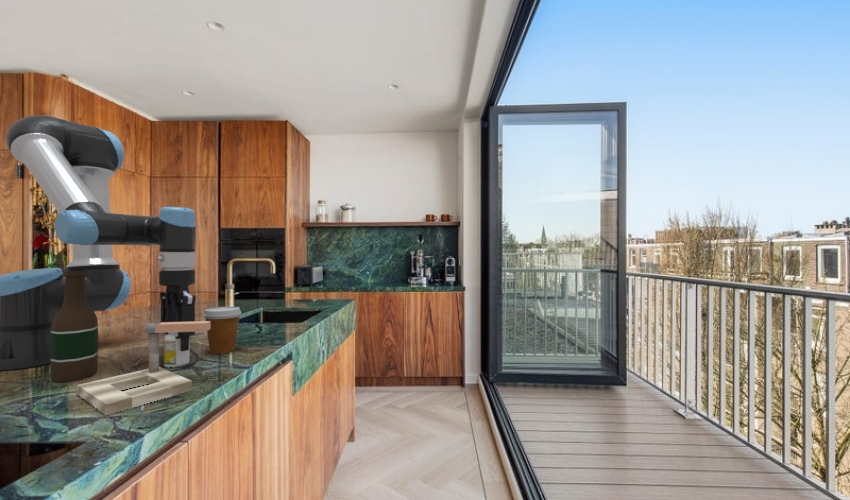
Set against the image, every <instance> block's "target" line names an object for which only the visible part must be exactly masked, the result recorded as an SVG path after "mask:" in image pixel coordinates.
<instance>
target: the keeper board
mask: <svg viewBox="0 0 850 500" xmlns="http://www.w3.org/2000/svg"><path fill="white" fill-rule="evenodd" d="M146 384H149V385H146ZM142 385H144V386H142ZM137 386H140V387H137ZM133 387H136V388H133ZM129 388H132V389H129ZM125 389H128V390H125ZM121 390H125V391H121ZM192 391H193V380H191V379H189V378H187V377H185V376H182V375H179V374H177V373H175V372H172V371H171V370H170V371H169V370H167V369H165V368H162V367H160V333H148V368H145V369H142V370H138V371H134V372H133V371H132V372H129V373H124V374H119V375H116V376H111V377H106V378H102V379H97V380H94V381H89V382H85V383H81V384H76V395H77V394H78V395H79V396H80V397H82V398H83V399H85V400H86V401H88V402H89V403H90V404H92V405H93V406H94V407H95V409H96V408H97V409H98V410H97V409H96V410H97V411H99V412H100V413H101V414H103V415H104V416H105V417H107V415H108V416H111V415H114V414H118V413H120V411H121V412H123V411H124V412H125V411H128V410H131V409H134V407H135V408H137V407H140V406H145V405H147V403H148V404H151V403H150V402H152V403H155V402H157V400H158V401H161V399H162V400H165V399H168V398H171V397H172V398H173V397H174V396H178V395H181V394H186V393H189V392H192ZM78 395H77V396H78ZM79 396H78V397H79ZM80 397H79V398H80ZM82 398H81V399H82ZM164 398H165V399H164ZM83 399H82V400H83ZM85 400H84V401H85ZM86 401H85V402H86ZM154 401H155V402H154ZM89 403H88V404H89ZM90 404H89V405H90ZM144 404H145V405H144ZM92 405H91V406H92ZM93 406H92V407H93ZM127 409H128V410H127ZM117 412H118V413H117Z"/></svg>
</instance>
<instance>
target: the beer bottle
mask: <svg viewBox="0 0 850 500" xmlns="http://www.w3.org/2000/svg"><path fill="white" fill-rule="evenodd" d="M64 273H65V274H64V276H65V277H66V280H65V291H64V301H63V305H62V308H61V309H60V310H59V312H58V313H57V314H56V315H55V317H54V319H53V321H52V325H51V363H50V380H51V381H52V382H56V383H66V382H67V383H68V381H70V382H76V381H75V380H77V381H81V380H83V379H84V378H85V379H87V378H92V377H93V376H94V375H96V373H97V372H98V368H99V366H98V365H99V360H98V359H99V321H98V317H97V315H96V312H94V311H93V310H92V309H91V308H90V307H89V306H88V302H87V296H86V283H85V276H86V275H87V274H86V271H66V270H65V272H64ZM91 376H92V377H91ZM80 379H81V380H80Z"/></svg>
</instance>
